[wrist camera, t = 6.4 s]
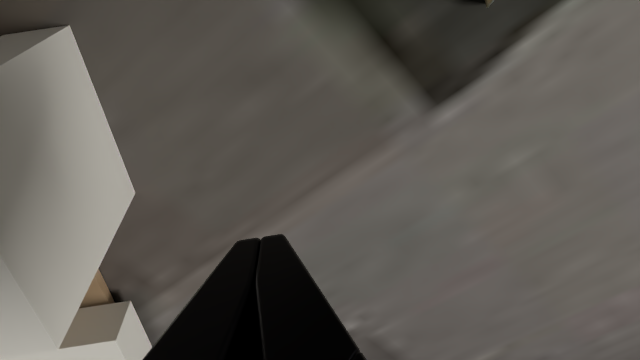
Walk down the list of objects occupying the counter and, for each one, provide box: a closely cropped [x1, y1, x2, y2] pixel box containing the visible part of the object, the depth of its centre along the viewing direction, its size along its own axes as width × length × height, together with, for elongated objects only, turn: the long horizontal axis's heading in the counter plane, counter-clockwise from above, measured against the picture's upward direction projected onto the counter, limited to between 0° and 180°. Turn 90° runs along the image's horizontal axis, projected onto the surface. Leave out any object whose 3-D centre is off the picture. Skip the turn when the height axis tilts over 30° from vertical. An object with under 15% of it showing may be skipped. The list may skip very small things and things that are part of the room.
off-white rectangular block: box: [0, 25, 135, 358], centre depth 13 cm, size 6×2×7 cm, turn 8°
